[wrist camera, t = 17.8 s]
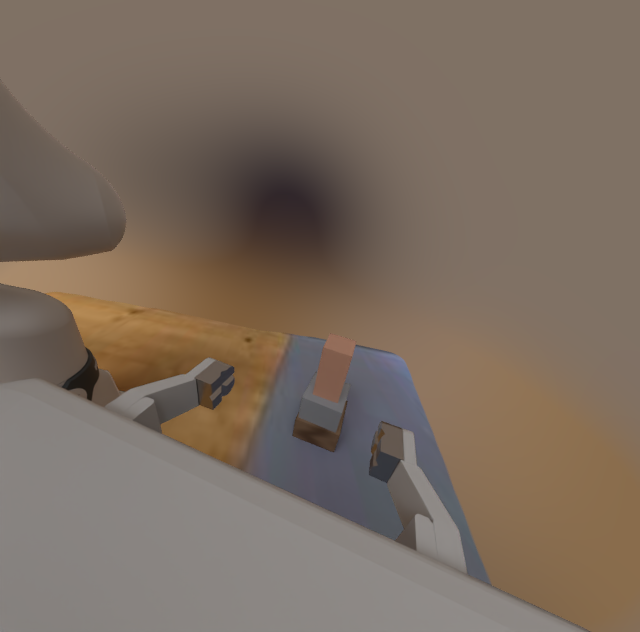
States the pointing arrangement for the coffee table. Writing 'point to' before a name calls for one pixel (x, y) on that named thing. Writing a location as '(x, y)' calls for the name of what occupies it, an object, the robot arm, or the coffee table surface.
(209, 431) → the coffee table surface
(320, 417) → the tower top
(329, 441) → the tower base
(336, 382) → the terracotta block
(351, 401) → the coffee table surface
